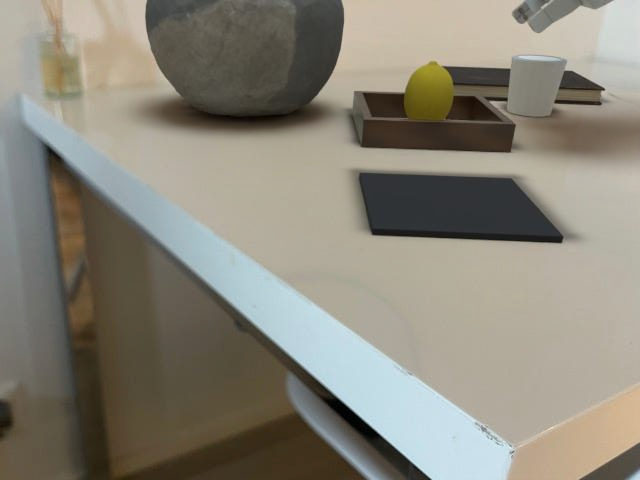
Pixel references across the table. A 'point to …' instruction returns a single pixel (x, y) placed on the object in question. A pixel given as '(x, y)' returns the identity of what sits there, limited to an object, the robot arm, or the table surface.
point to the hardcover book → (497, 80)
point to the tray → (431, 124)
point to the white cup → (534, 84)
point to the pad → (453, 208)
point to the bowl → (246, 51)
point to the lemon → (429, 93)
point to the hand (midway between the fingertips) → (522, 23)
